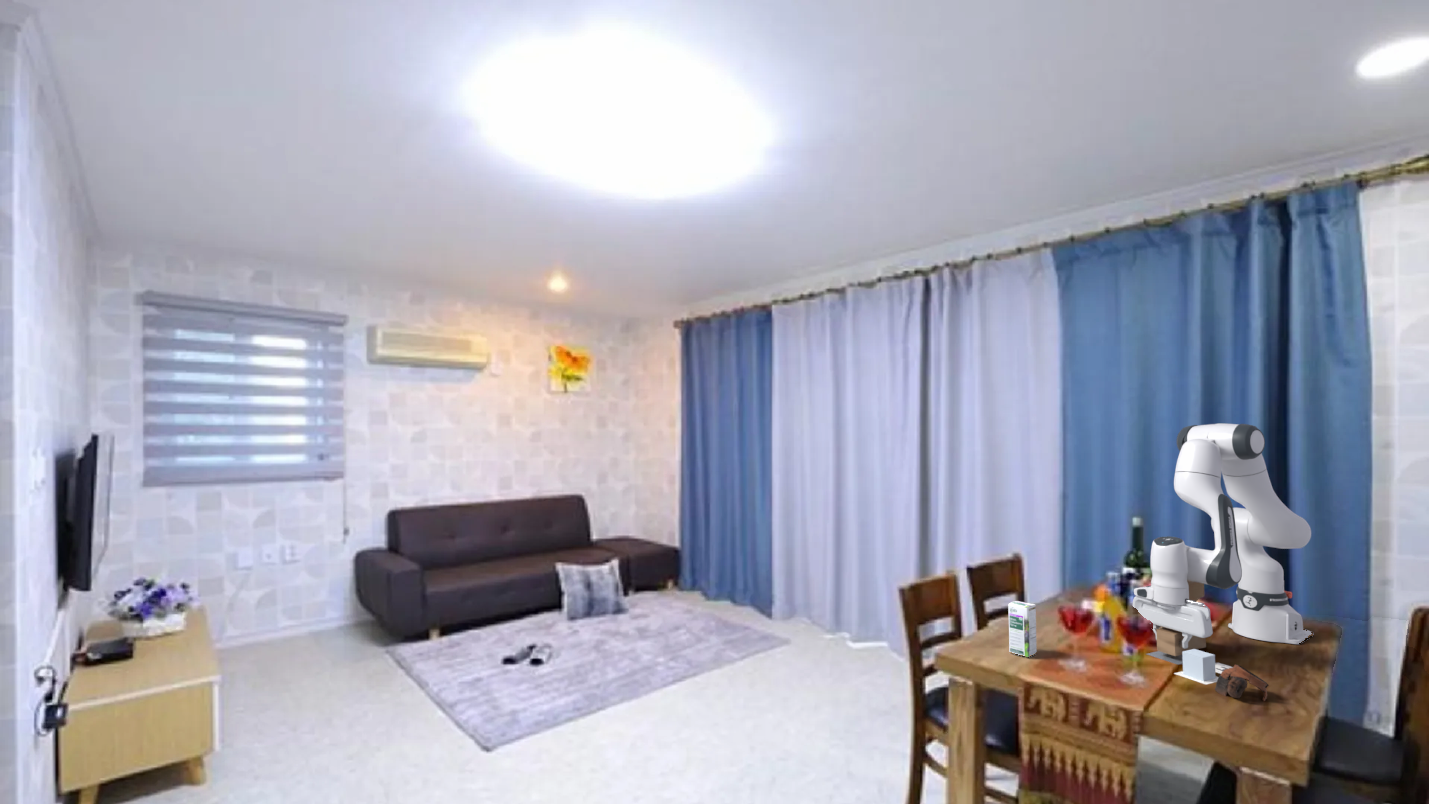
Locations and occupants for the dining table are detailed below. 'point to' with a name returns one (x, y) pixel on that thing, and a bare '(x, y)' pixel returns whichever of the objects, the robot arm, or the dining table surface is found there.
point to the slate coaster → (1167, 657)
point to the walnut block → (1169, 641)
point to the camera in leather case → (1238, 682)
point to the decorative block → (1194, 594)
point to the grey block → (1199, 664)
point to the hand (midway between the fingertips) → (1171, 644)
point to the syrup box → (1022, 628)
